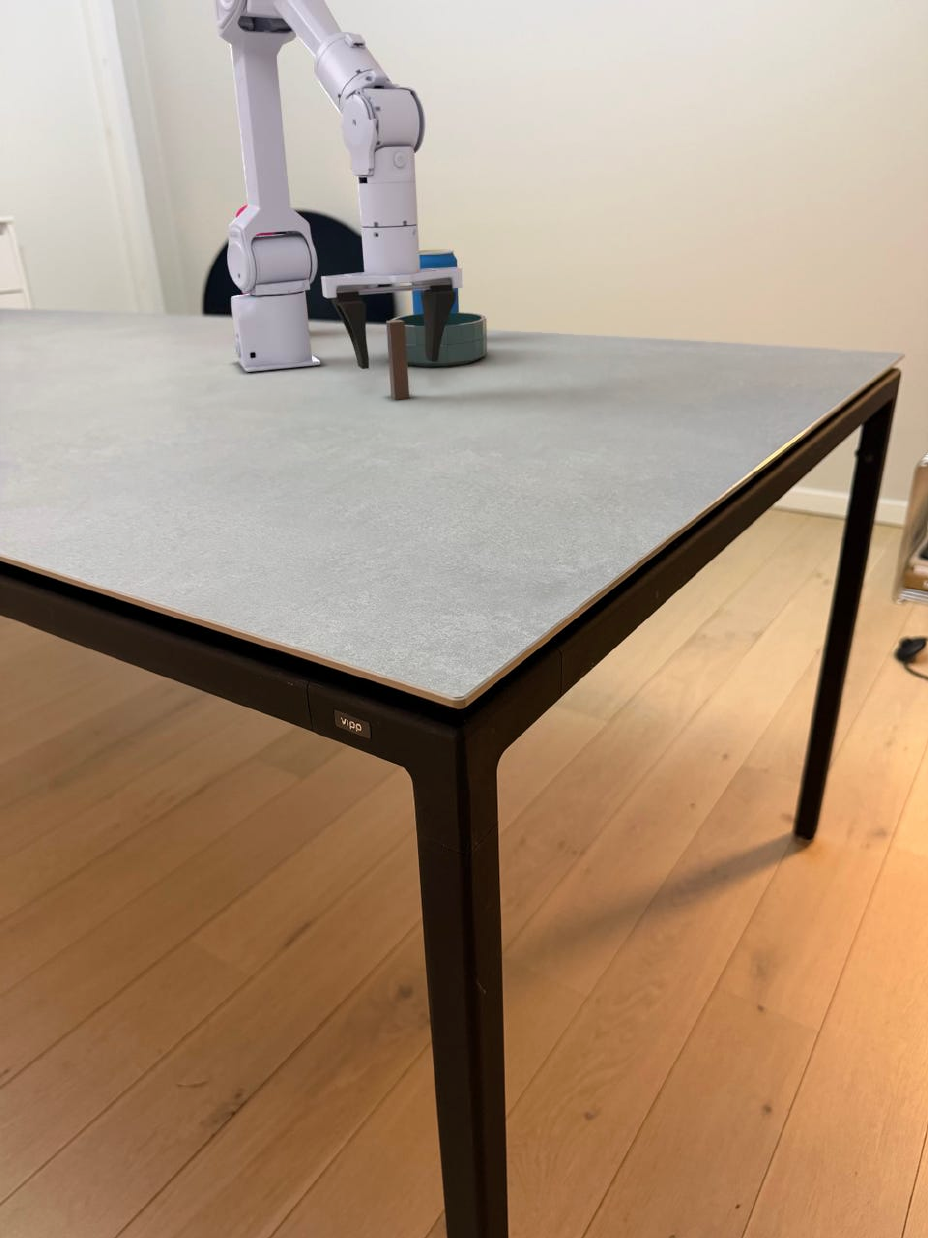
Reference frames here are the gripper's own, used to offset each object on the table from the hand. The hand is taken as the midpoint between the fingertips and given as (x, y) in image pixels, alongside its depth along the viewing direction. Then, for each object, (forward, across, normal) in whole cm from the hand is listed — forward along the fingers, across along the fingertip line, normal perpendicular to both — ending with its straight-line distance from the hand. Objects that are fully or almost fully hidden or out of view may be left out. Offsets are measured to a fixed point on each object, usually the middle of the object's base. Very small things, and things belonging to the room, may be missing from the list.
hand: (398, 363), depth 98 cm
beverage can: (+4, +15, +32) cm, 36 cm away
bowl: (+4, +11, +19) cm, 22 cm away
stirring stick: (+4, 0, 0) cm, 4 cm away
